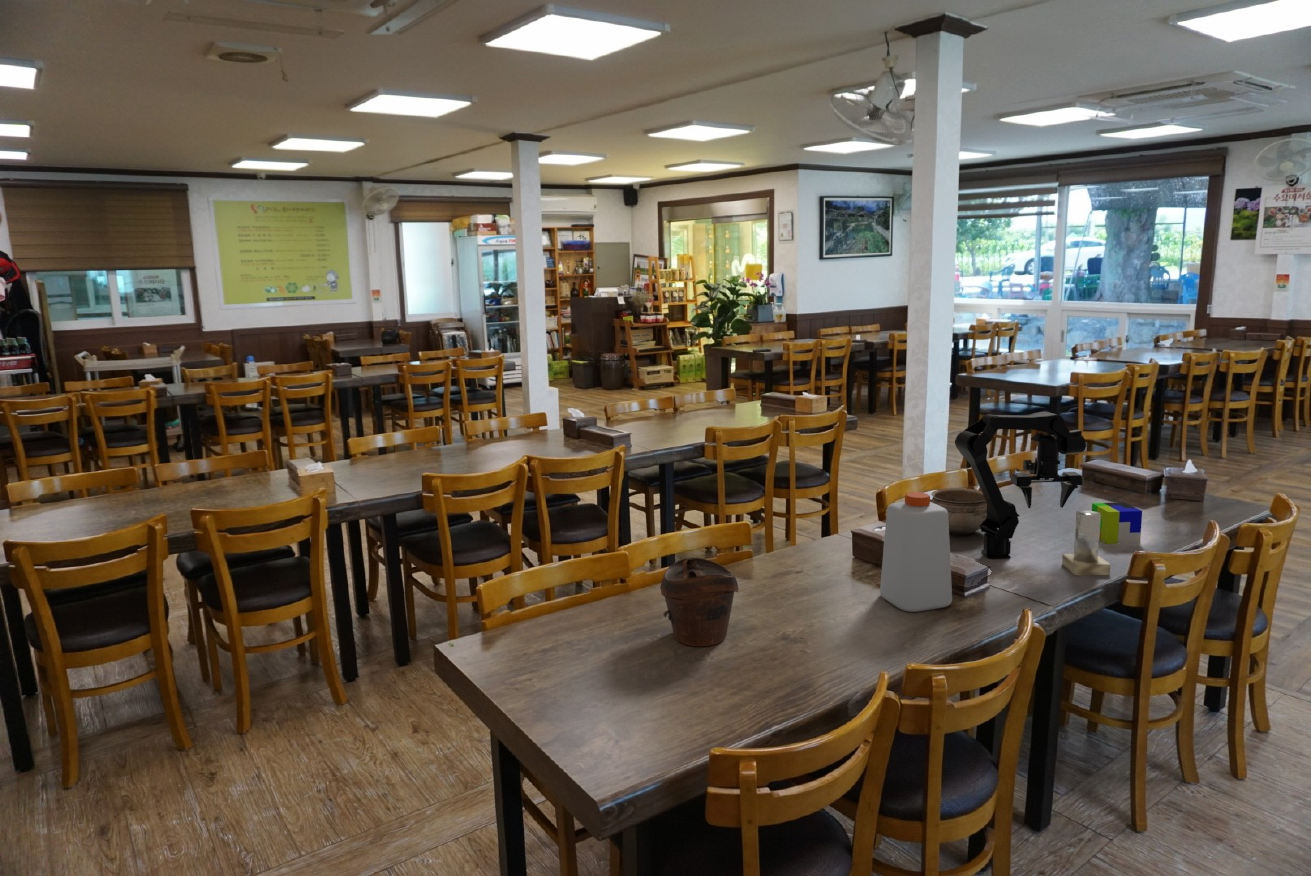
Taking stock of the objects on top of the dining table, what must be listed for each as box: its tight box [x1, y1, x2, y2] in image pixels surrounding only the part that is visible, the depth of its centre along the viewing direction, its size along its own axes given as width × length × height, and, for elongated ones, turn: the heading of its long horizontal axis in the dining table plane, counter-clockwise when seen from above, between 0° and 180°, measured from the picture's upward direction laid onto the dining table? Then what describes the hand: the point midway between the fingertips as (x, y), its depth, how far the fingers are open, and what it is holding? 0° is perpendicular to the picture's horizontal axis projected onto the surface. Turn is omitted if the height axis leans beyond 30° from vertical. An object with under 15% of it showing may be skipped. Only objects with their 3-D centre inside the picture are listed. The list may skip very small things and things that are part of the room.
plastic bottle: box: [879, 491, 953, 613], centre depth 215 cm, size 15×15×28 cm
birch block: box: [1061, 553, 1111, 576], centre depth 234 cm, size 9×9×3 cm
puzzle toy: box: [1091, 501, 1143, 545], centre depth 258 cm, size 10×10×10 cm
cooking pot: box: [930, 487, 987, 536], centre depth 270 cm, size 25×19×12 cm
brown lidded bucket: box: [659, 556, 740, 647], centre depth 200 cm, size 18×20×18 cm
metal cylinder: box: [1073, 510, 1101, 563], centre depth 233 cm, size 6×6×13 cm
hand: (1045, 507), depth 249 cm, fingers open, 9 cm apart
